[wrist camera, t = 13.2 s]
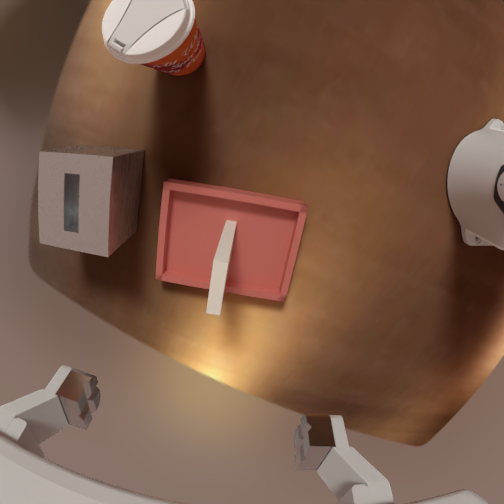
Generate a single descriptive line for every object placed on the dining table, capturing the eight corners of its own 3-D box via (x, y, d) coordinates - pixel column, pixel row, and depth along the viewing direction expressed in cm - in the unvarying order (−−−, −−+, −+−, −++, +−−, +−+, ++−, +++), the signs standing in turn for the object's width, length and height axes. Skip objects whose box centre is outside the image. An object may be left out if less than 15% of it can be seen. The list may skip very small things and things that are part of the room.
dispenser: (144, 150, 35) (113, 156, 26) (137, 230, 38) (108, 257, 30) (80, 144, 34) (39, 151, 26) (77, 219, 38) (39, 243, 29)
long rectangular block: (236, 221, 37) (228, 263, 26) (230, 261, 39) (219, 315, 27) (226, 219, 37) (213, 260, 25) (220, 259, 38) (206, 312, 27)
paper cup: (185, 97, 32) (145, 78, 19) (137, 64, 31) (79, 36, 18) (229, 45, 30) (214, -1, 17) (179, 14, 29) (141, -38, 15)
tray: (305, 201, 37) (308, 206, 34) (283, 292, 41) (284, 301, 39) (169, 178, 36) (163, 181, 34) (160, 270, 40) (155, 279, 38)
